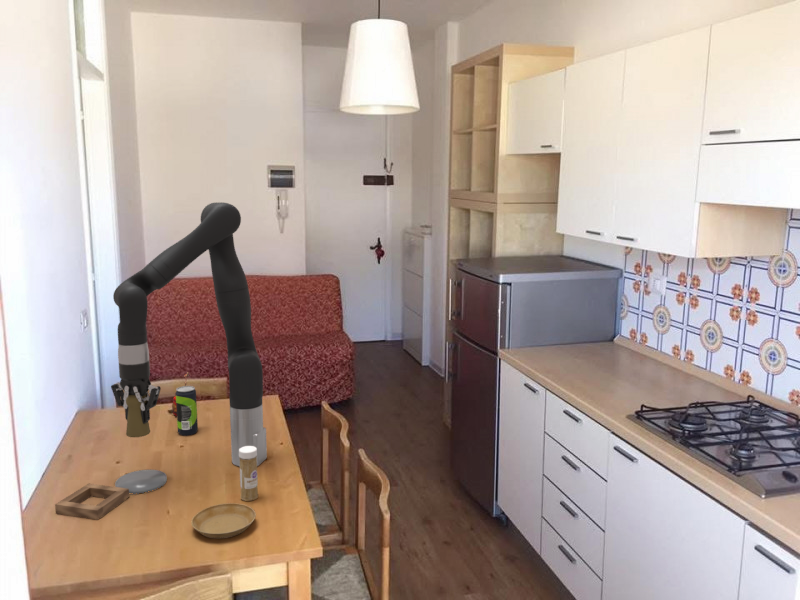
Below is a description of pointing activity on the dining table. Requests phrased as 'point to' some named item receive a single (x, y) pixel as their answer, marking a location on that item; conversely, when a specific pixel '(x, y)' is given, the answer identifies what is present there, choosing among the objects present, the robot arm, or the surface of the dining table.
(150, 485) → the slate coaster
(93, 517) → the holder board
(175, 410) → the red clay folk toy
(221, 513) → the plant saucer
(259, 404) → the robot arm
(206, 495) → the dining table surface
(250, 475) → the sprinkles bottle
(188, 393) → the beverage can
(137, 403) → the cork
